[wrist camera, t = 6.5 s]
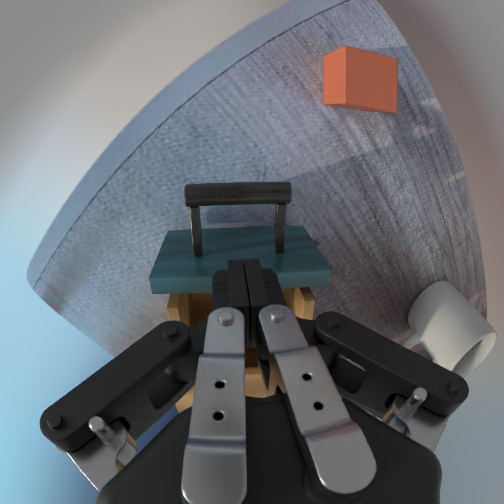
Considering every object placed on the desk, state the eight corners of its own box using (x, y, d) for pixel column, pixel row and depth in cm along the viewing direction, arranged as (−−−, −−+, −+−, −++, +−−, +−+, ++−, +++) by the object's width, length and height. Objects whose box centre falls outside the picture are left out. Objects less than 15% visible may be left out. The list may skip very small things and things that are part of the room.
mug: (452, 268, 29) (503, 318, 20) (451, 309, 33) (491, 356, 24) (381, 313, 31) (423, 379, 21) (389, 349, 35) (421, 406, 25)
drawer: (161, 173, 20) (134, 200, 14) (306, 169, 21) (342, 194, 15) (187, 344, 29) (182, 399, 22) (290, 338, 30) (305, 391, 23)
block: (322, 104, 20) (344, 103, 16) (323, 56, 18) (344, 45, 14) (369, 111, 20) (397, 113, 16) (370, 65, 18) (397, 59, 14)
